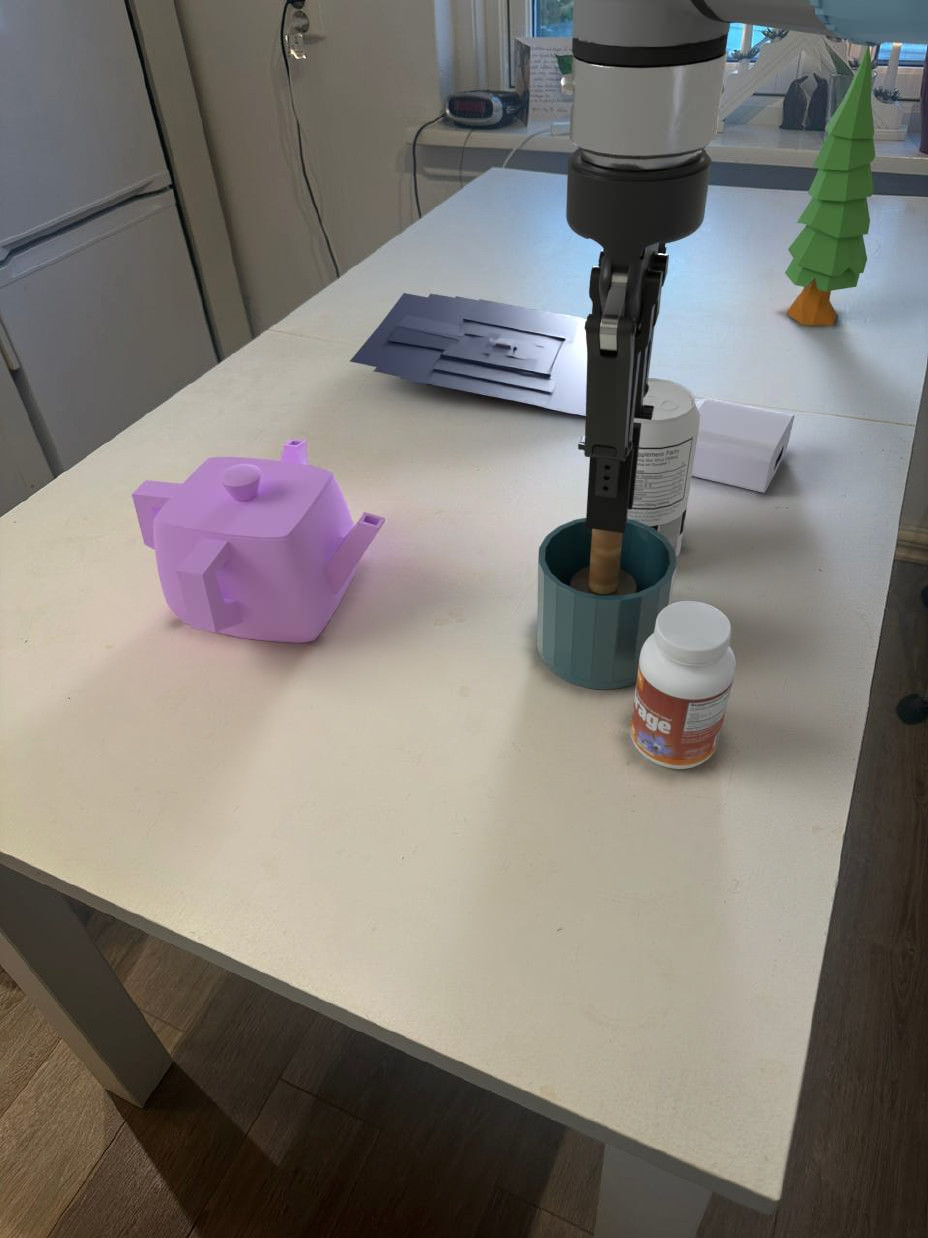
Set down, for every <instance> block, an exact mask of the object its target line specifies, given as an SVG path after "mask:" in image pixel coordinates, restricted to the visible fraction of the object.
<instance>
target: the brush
mask: <svg viewBox="0 0 928 1238" xmlns="http://www.w3.org/2000/svg"><path fill="white" fill-rule="evenodd" d="M634 414H635V410H634ZM633 424H634V419H633ZM632 435H633V428H632ZM631 441H632V437H631ZM622 539H623V533H618V532H612V531H605V530H598V529H592V540H591V555H590V566H589V567H586V568H584V569H581V570H580V571H578V572H577V573H576V574H575V575H574V576H573V577H572V579H571V581H570V587H572V588H574V589H576V590H578V591H581V592H585V593H590V594H594V595H599V596H622V595H627V594H633V593H636V590H637V586H636V582H635V580H634V579H633V577H632V576H631V575H630V574H629V573H627V572H626V571H624V570H622V569H620V560H621V549H622Z"/></svg>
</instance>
